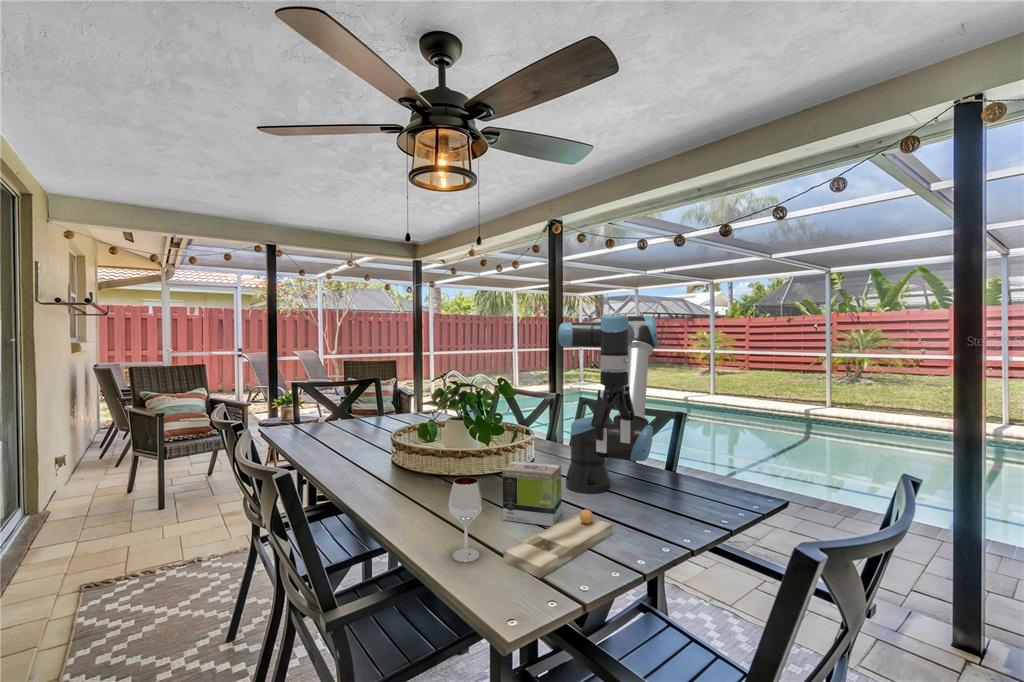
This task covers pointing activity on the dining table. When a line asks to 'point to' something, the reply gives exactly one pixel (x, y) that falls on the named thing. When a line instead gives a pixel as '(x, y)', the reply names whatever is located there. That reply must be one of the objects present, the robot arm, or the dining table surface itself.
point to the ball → (586, 516)
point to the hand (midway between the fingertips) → (613, 447)
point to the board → (556, 545)
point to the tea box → (532, 492)
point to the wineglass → (465, 511)
